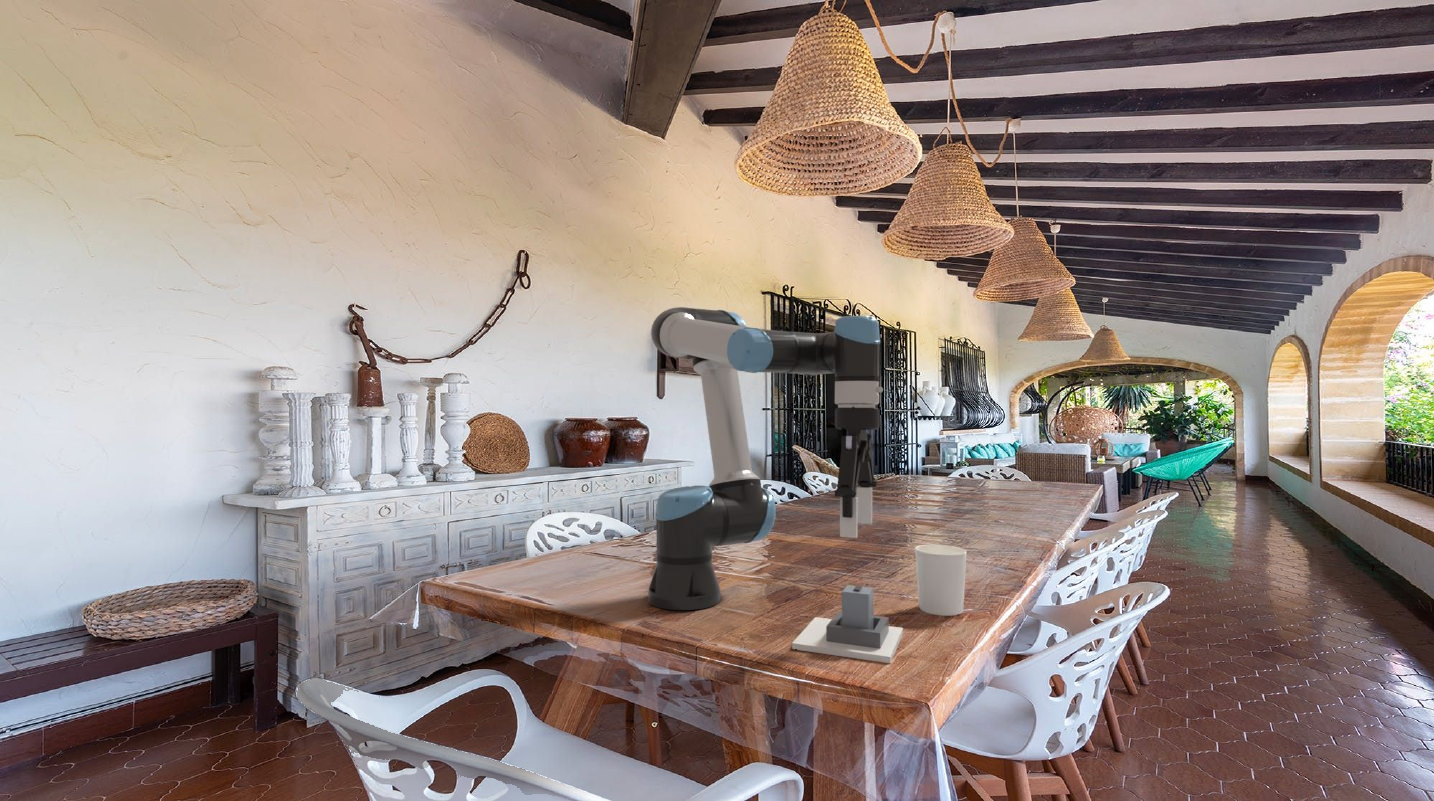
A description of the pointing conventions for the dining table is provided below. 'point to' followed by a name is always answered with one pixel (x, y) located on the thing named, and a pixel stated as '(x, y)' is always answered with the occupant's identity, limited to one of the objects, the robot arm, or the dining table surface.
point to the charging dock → (850, 639)
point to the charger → (857, 607)
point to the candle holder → (941, 579)
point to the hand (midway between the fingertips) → (856, 530)
